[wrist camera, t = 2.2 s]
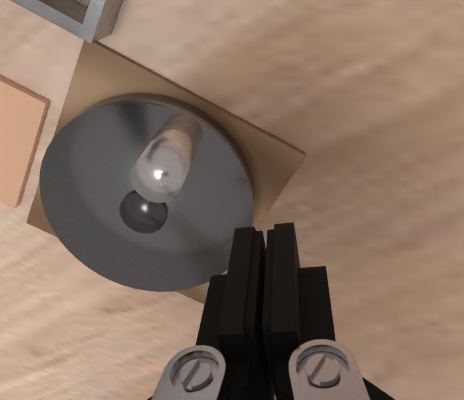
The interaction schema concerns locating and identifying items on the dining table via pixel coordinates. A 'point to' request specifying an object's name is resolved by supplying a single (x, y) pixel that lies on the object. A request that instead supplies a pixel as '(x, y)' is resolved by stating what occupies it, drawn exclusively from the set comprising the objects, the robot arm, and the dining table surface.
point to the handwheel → (147, 192)
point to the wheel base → (148, 82)
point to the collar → (77, 16)
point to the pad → (18, 137)
